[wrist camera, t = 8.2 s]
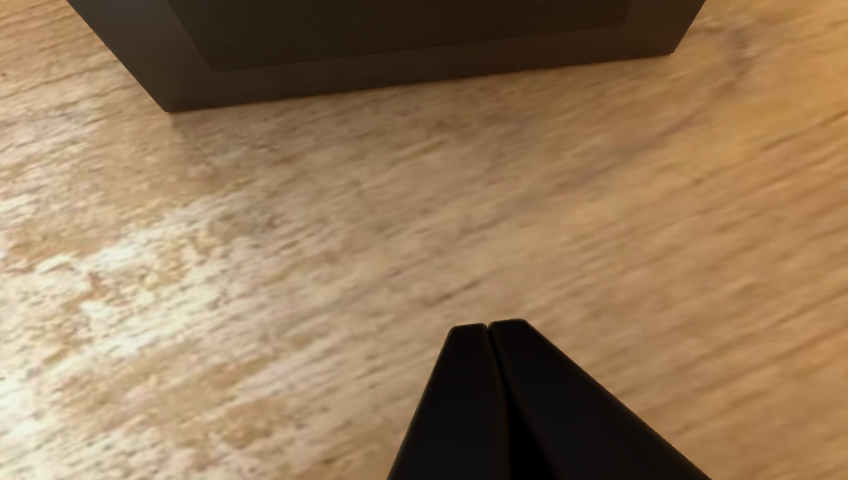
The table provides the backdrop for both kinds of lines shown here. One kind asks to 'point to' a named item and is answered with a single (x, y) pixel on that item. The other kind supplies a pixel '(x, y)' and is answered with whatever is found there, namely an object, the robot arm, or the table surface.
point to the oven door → (364, 42)
